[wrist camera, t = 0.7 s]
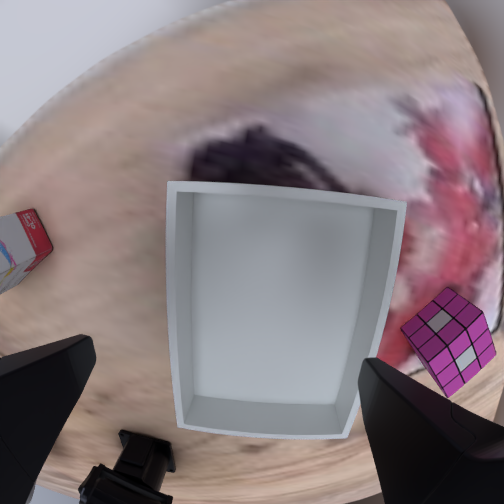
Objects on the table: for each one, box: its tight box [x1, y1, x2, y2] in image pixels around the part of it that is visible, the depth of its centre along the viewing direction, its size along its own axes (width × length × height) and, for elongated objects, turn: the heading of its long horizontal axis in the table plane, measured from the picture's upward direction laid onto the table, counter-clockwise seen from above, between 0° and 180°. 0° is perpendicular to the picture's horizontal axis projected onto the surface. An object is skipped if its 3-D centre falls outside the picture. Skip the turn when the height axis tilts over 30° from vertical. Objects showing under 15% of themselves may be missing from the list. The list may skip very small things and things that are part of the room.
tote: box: [166, 181, 407, 439], centre depth 20 cm, size 19×14×4 cm
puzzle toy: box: [401, 287, 496, 398], centre depth 20 cm, size 6×6×6 cm
